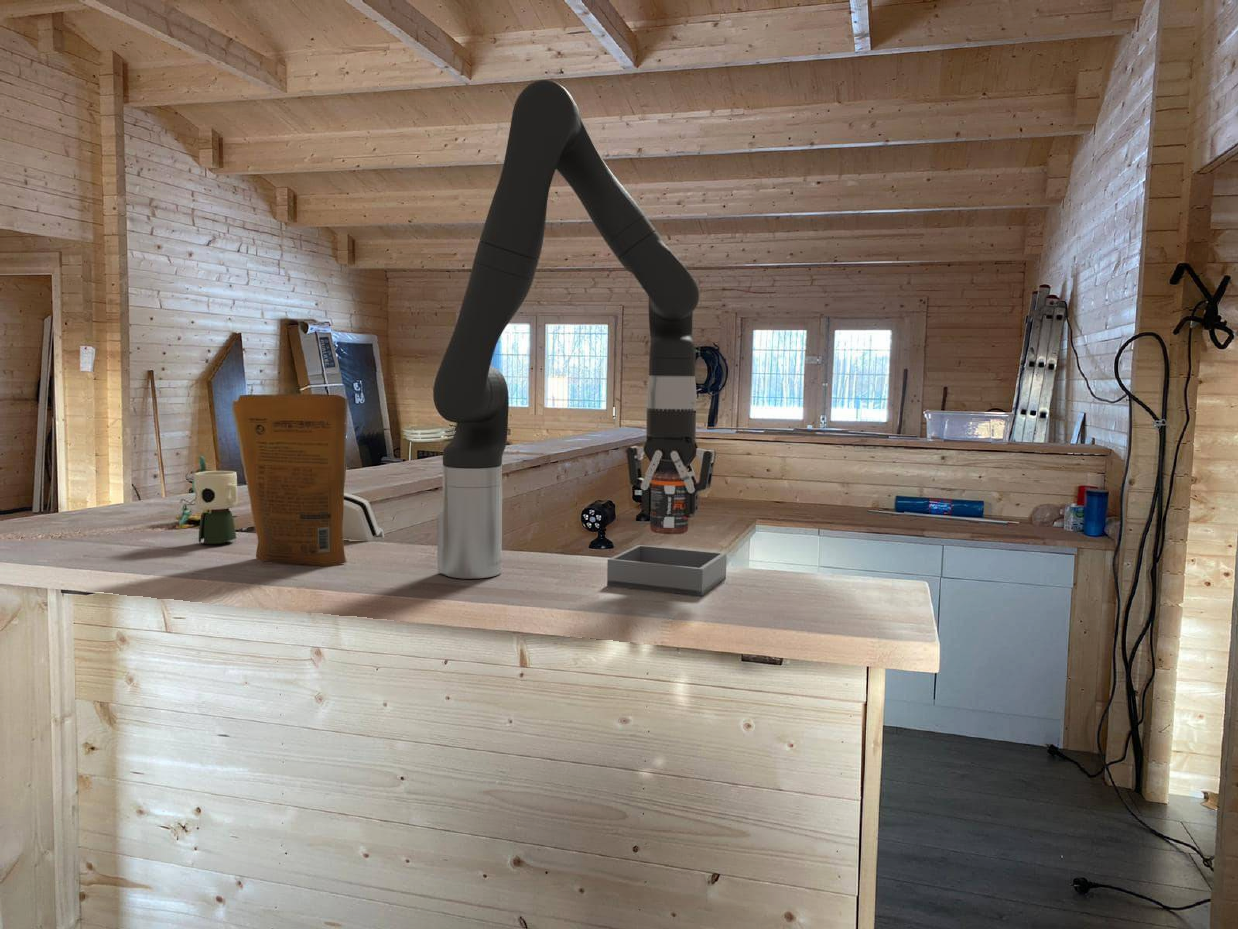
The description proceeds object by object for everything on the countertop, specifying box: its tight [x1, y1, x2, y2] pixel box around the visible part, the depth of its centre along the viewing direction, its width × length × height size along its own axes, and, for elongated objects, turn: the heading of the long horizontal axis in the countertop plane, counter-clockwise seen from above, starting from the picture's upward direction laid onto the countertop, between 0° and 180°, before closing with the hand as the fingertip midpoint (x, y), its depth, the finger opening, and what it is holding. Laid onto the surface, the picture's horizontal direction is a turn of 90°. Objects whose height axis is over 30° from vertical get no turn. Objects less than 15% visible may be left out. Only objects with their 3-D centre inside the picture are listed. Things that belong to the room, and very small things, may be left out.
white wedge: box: [342, 492, 385, 542], centre depth 169 cm, size 17×5×10 cm, turn 69°
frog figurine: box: [173, 455, 221, 530], centre depth 183 cm, size 10×18×15 cm, turn 160°
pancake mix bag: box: [231, 393, 349, 567], centre depth 145 cm, size 7×19×28 cm, turn 79°
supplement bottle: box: [649, 459, 690, 535], centre depth 135 cm, size 6×6×11 cm
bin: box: [606, 544, 728, 597], centre depth 137 cm, size 15×13×4 cm
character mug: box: [193, 470, 238, 545], centre depth 160 cm, size 11×7×13 cm, turn 60°
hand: (669, 515), depth 136 cm, fingers closed on supplement bottle, 6 cm apart
